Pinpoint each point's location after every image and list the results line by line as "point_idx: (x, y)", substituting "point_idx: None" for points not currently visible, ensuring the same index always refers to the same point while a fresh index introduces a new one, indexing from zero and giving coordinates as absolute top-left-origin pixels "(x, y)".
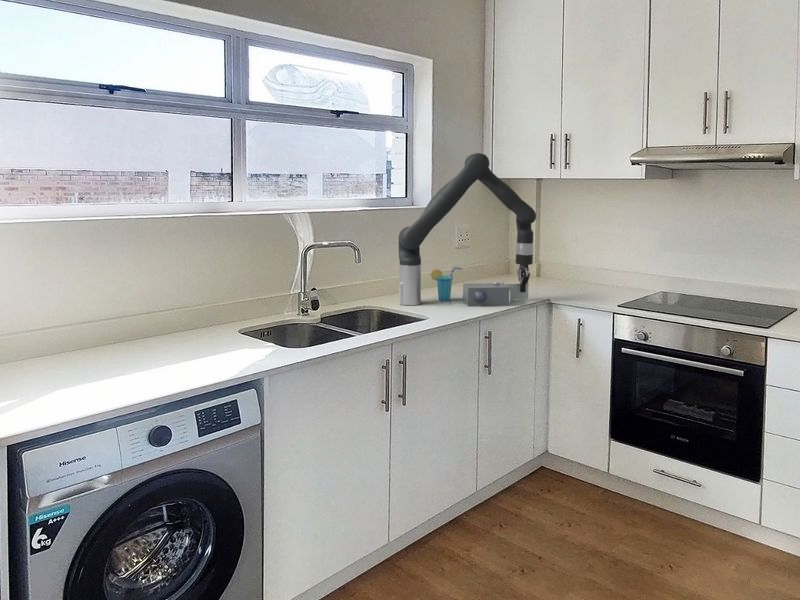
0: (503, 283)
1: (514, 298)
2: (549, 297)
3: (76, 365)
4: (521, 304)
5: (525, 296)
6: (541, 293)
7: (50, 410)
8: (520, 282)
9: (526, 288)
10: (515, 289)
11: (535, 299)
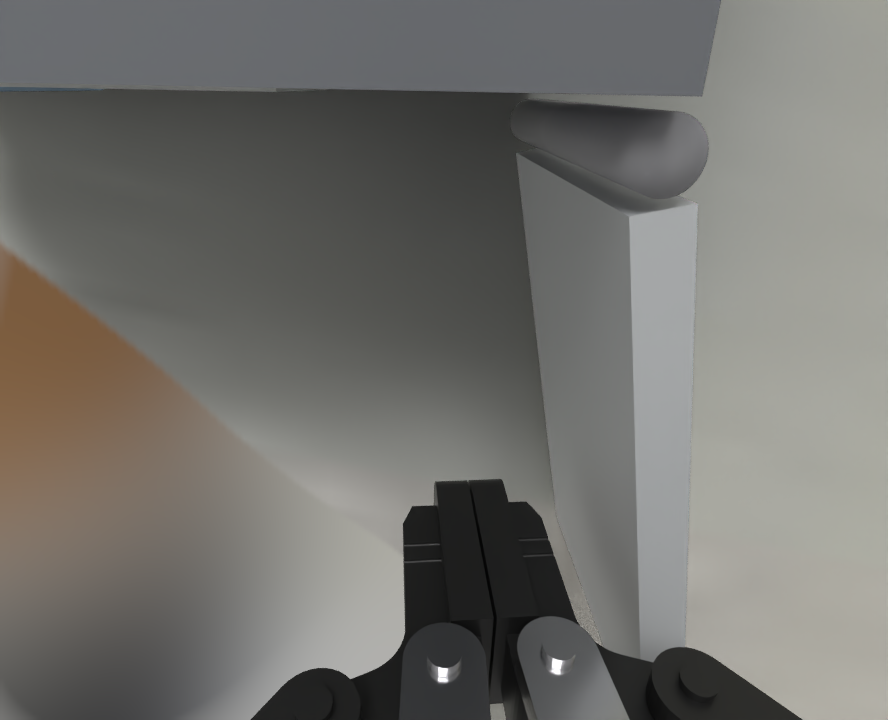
0: (542, 57)
1: (539, 328)
2: None
3: None
4: (149, 340)
5: (561, 506)
6: (880, 692)
7: None
8: (517, 652)
9: (602, 624)
10: (586, 426)
11: None
